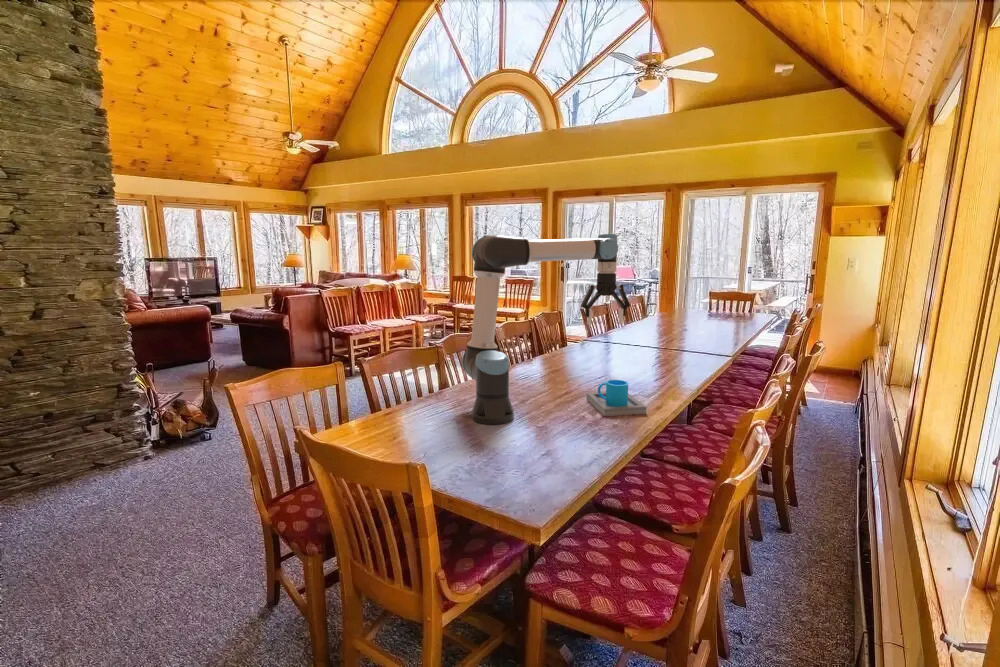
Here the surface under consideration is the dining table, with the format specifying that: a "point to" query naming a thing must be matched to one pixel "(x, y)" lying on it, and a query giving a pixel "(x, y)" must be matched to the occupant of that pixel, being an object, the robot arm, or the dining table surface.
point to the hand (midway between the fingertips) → (604, 324)
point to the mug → (615, 393)
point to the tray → (607, 410)
